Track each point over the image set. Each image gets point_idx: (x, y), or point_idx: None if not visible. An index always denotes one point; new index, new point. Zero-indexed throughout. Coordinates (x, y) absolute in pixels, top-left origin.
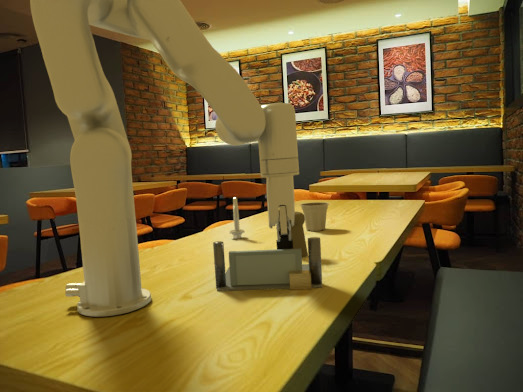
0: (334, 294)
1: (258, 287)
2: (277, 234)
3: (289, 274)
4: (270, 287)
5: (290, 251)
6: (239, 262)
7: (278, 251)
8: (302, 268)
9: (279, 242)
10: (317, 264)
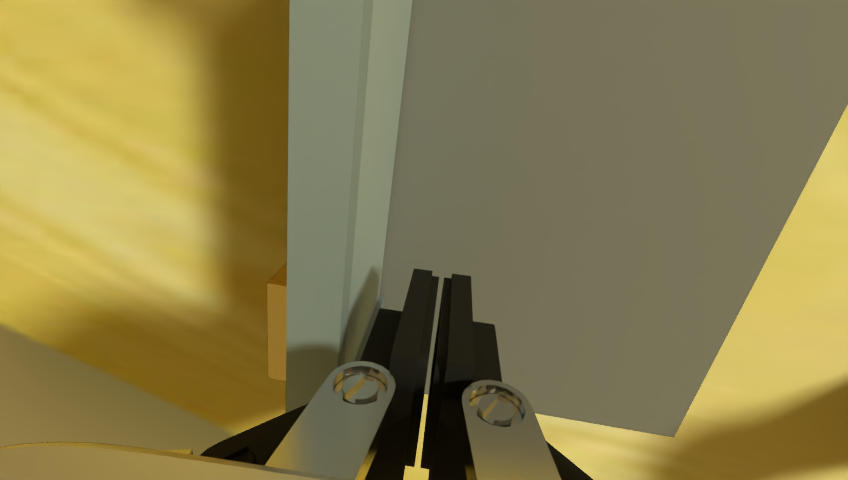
0: (231, 386)
1: None
2: (290, 430)
3: (268, 283)
4: None
5: (291, 386)
6: None
7: (288, 309)
8: (619, 364)
9: (392, 373)
10: None
